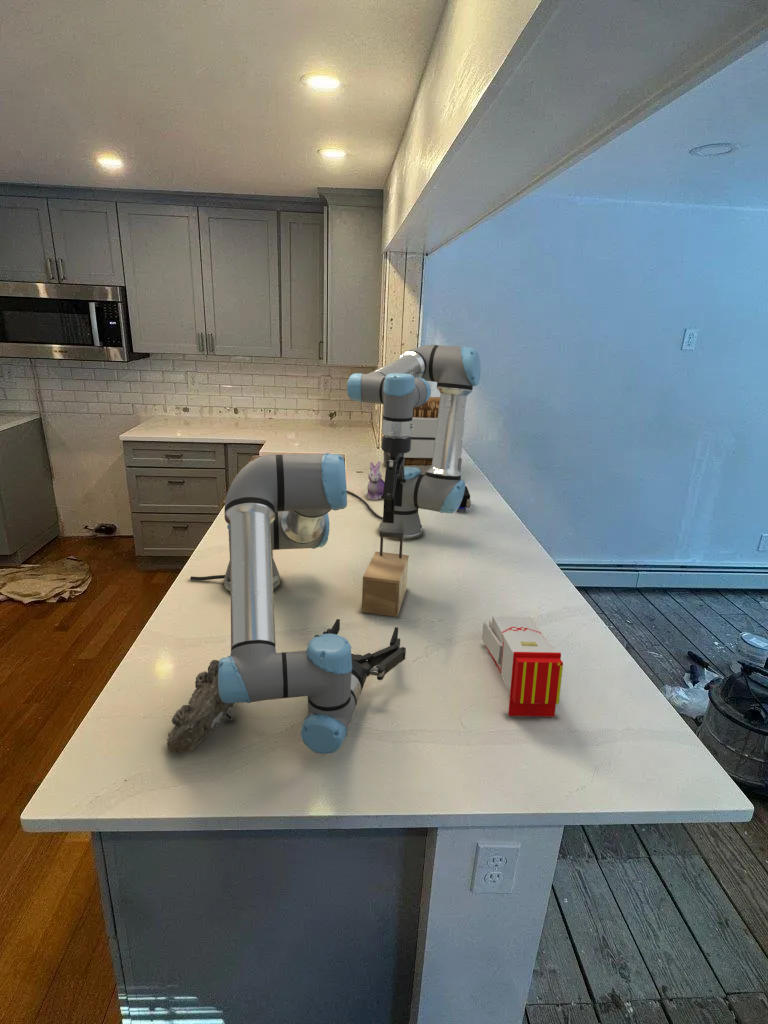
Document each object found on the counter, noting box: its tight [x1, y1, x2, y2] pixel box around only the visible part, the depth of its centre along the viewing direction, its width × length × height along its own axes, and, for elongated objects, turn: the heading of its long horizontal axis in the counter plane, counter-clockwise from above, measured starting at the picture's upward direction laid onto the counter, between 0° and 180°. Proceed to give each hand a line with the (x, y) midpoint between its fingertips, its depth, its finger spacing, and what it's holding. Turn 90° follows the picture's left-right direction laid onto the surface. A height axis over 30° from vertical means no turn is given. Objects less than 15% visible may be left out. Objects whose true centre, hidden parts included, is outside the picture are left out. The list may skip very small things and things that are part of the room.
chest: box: [361, 560, 409, 618], centre depth 152 cm, size 16×10×9 cm, turn 169°
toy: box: [481, 615, 564, 718], centre depth 123 cm, size 12×13×30 cm
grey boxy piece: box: [383, 396, 465, 474], centre depth 268 cm, size 34×33×41 cm
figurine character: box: [456, 485, 472, 513], centre depth 228 cm, size 7×8×15 cm
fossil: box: [166, 659, 236, 754], centre depth 106 cm, size 22×10×15 cm
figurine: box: [366, 461, 385, 501], centre depth 235 cm, size 9×10×15 cm
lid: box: [362, 530, 410, 584], centre depth 150 cm, size 16×10×8 cm, turn 169°
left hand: (367, 628), depth 129 cm, fingers open, 13 cm apart
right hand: (392, 513), depth 152 cm, fingers open, 13 cm apart
